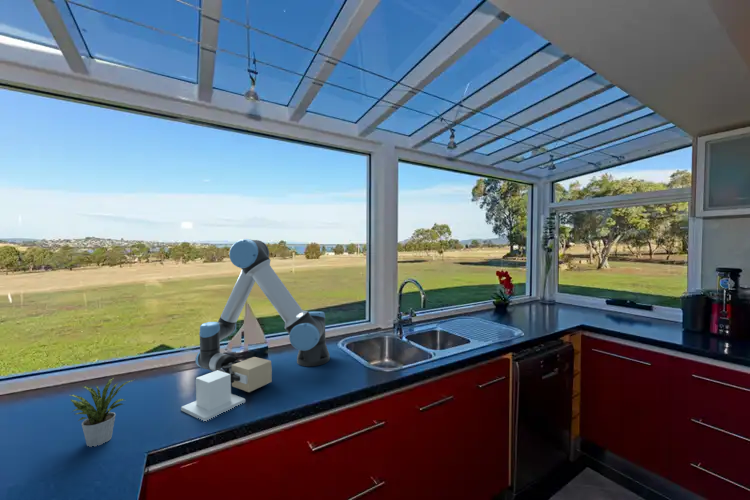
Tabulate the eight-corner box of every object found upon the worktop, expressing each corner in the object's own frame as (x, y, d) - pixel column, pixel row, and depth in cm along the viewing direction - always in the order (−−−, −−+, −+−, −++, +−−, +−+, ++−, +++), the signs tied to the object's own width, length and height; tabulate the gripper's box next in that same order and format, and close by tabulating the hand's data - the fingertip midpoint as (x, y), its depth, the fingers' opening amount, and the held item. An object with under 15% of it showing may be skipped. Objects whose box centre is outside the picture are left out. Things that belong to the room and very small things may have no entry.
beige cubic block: (254, 376, 124) (254, 356, 124) (271, 381, 118) (271, 360, 118) (232, 386, 115) (231, 364, 115) (249, 392, 110) (248, 369, 110)
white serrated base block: (221, 393, 114) (220, 365, 114) (245, 402, 106) (244, 372, 106) (181, 410, 102) (180, 379, 102) (205, 422, 94) (204, 388, 94)
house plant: (129, 418, 97) (128, 367, 97) (142, 434, 88) (141, 378, 88) (66, 441, 86) (64, 382, 86) (73, 462, 77) (72, 397, 77)
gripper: (248, 364, 136) (283, 373, 124) (196, 383, 117) (231, 397, 105) (247, 347, 136) (282, 355, 124) (195, 363, 117) (231, 375, 105)
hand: (259, 374), depth 114 cm, fingers closed on beige cubic block, 10 cm apart
